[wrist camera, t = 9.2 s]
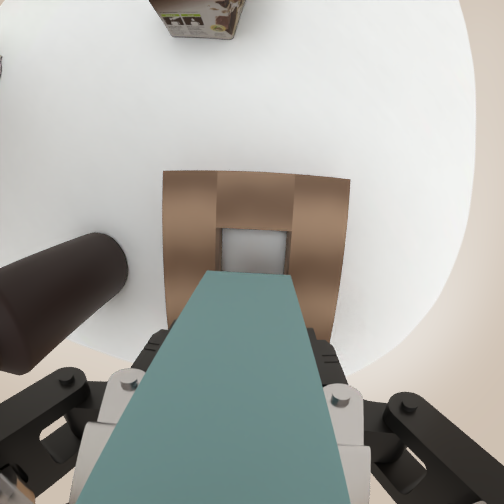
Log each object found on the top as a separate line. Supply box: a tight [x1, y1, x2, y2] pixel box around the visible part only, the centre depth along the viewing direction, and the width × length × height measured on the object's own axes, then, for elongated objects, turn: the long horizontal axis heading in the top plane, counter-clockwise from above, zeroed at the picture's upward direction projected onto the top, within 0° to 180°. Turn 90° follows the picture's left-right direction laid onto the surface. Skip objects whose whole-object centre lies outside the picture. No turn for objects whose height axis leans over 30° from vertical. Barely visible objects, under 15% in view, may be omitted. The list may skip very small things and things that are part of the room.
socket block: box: [162, 171, 350, 343], centre depth 23 cm, size 14×14×4 cm
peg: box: [75, 270, 351, 504], centre depth 8 cm, size 4×4×12 cm
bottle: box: [0, 232, 127, 375], centre depth 16 cm, size 7×7×20 cm
